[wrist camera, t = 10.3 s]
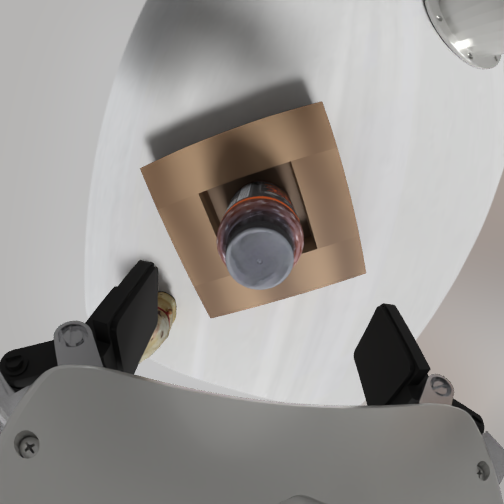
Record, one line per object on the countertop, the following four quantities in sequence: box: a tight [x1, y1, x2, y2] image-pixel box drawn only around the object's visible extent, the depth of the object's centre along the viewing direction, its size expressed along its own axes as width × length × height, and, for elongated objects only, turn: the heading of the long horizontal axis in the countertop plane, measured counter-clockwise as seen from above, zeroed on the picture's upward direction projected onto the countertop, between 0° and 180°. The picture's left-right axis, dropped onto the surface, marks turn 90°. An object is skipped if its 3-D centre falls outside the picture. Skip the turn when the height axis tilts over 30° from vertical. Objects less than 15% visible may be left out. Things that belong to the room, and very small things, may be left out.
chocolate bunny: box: [139, 292, 177, 363], centre depth 28 cm, size 6×8×10 cm
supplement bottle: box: [216, 181, 304, 290], centre depth 21 cm, size 6×6×11 cm
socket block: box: [140, 102, 366, 318], centre depth 25 cm, size 16×16×4 cm
